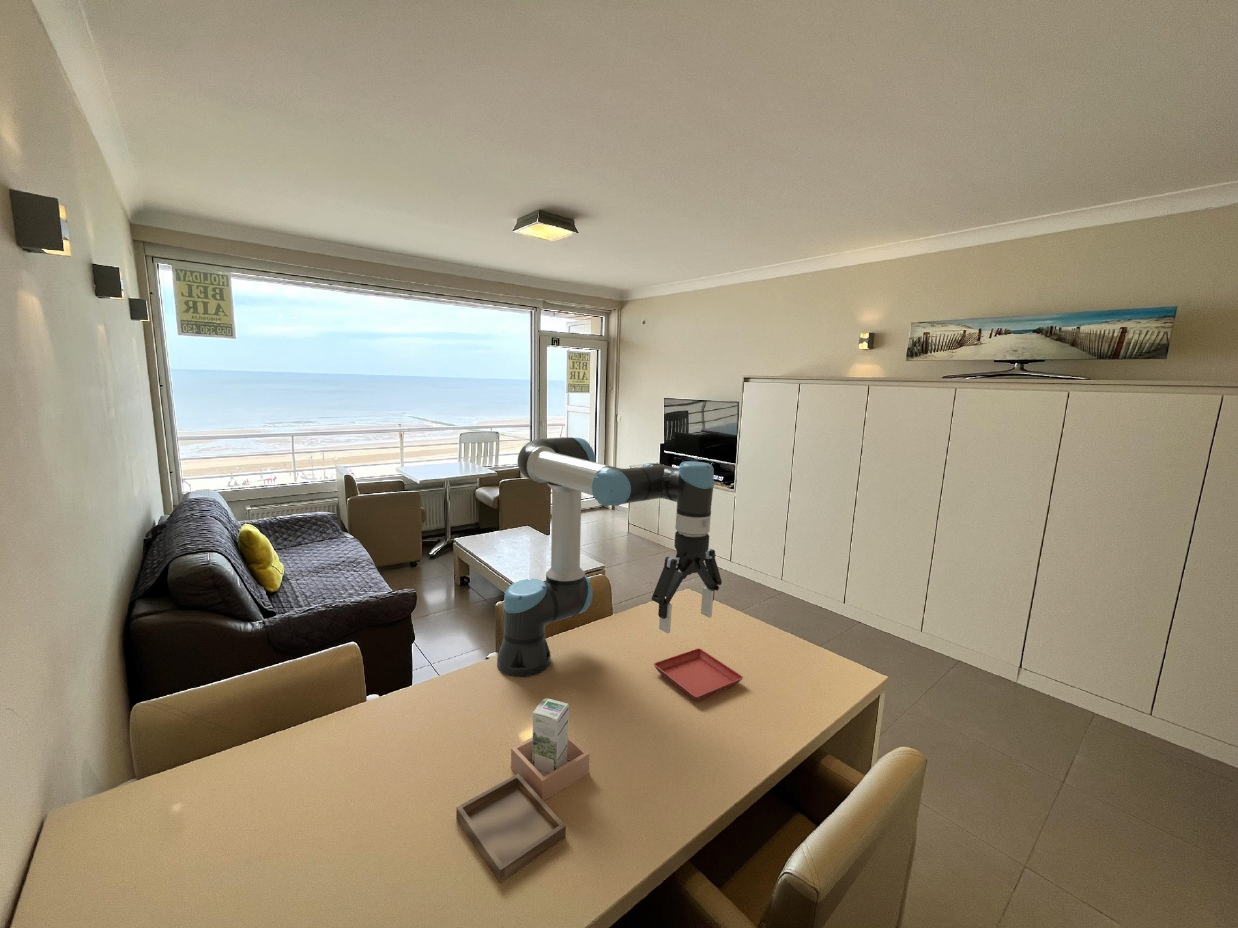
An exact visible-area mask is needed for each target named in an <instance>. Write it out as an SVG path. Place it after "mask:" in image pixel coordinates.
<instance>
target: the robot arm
mask: <svg viewBox="0 0 1238 928" xmlns="http://www.w3.org/2000/svg"><path fill="white" fill-rule="evenodd" d="M596 460H597V459H596V455H595V451H594V450H593V447H592V446H591V444H590V442H588V440H586V439H584V438H580V437H572V436H571V437H570V436H569V437H568V436H567V437H554V438H536V439H533V440H531V441H529V442H527V443H525V444H524V445H523V446H522V448H521V449H520V451H519V453H518V456H517V467H518V469H519V472H520V474H522V476H523V477H525V478H526V479H528V480H531V481H533V482H536V483H538V484H539V483H540V484H541V483H542V484H543V483H546V484H547V486H548V487H549V488H550V489H551V543H550V544H551V549H550V550H551V552H550V554H551V555H550V558H551V559H550V568H549V569H548V570H547V571H546V572H545V581H544V580H541V579H538V578H530V579H529V578H526V579H521V580H518V581H516V582H514V583H512V584H510V585H509V586H508V587H507V588H506V591H505V592H504V597H503V598H504V599H503V604H502V605H503V639H502V641H501V646H500V648H499V652H498V653H497V659H496V662H497V663H496V666H497V668H498V670H499V671H500V672H501V673H502V674H505V675H508V676H511V677H516V678H517V677H518V678H523V677H524V678H525V677H533V676H536V675H539V674H541V673H543V672H544V671H545V670H547V669H548V668H549V666H550V665H551V651H550V650H551V649H549V647H550V646H549V644H548V642H547V638H546V625H549V624H552V623H555V622H559V621H562V620H564V619H568V618H570V617H571V618H572V617H573V618H574V617H576V616H578V615H579V614H582V613H584V612H586V611H587V610H588V609H589V607H590V606H591V604H592V601H593V594H594V593H593V586H592V585H591V581H590V579H589V577H588V576H586V573H585V571H584V569H582V568H581V535H582V534H581V533H582V531H581V529H582V528H581V526H582V494H587V495H590V496H593V498H594V500H596V501H597V502H598V504H599V505H601V506H605V507H609V506H614V507H615V506H616V507H617V506H620V505H625V504H631V503H637V502H643V501H650V500H657V499H664V500H668V501H672V502H675V503H676V514H675V515H676V517H675V526H674V527H675V530H676V531H675V533H674V549H675V550H676V554H675V557H670V556H666V557H665V558H664V564H663V569H662V570H661V574H660V577H659V578H658V581H657V583H656V586H655V588H654V591H653V594H652V596H651V601H653V602H655V603H657V604H658V612H657V613H658V617H659V625H658V630H660V631H662V632H664V633H666V634H667V635H669V634H670V633H671V623H672V622H671V621H672V608H673V607H672V606H673V604H672V603H670V602H671V601H672V599H673V597H674V596H675V594H676V593H677V591H678V589H679V587H680V586H681V583H682V582H683V581H684V579H686V578H687V577H688V576H690V575H692V574H697V575H698V576H699V578H700V579H701V580H702V582H703V584H704V586H703V587H702V591H701V592H702V593H701V605H700V606H701V607H700V608H701V609H700V614H701V615H703V616H705V617H707V618H709V619H710V618H712V616H713V605H714V604H713V603H714V600H715V591H717V592H718V591H719V590H720V586H721V585H722V583H723V582H722V578H721V574H720V571H719V568H718V563H717V560H716V551H715V549H712V548H711V547H710V535H709V533H710V530H711V529H710V528H711V515H712V502H713V496H714V494H713V493H714V486H715V482H714V480H715V479H714V478H715V477H714V473H715V471H714V470H715V469H714V467H713V465H711V464H710V463H708V462H703V461H694V460H691V461H690V460H688V461H682V462H681V463H680V464H679V467H675V466H669V465H664V464H661V463H655V462H654V463H652V462H648V463H644V464H643V465H642V466H640V467H632V468H631V467H630V468H620V467H615V466H611V465H608V464H604V463H601V462H600V463H599V462H596Z"/></svg>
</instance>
